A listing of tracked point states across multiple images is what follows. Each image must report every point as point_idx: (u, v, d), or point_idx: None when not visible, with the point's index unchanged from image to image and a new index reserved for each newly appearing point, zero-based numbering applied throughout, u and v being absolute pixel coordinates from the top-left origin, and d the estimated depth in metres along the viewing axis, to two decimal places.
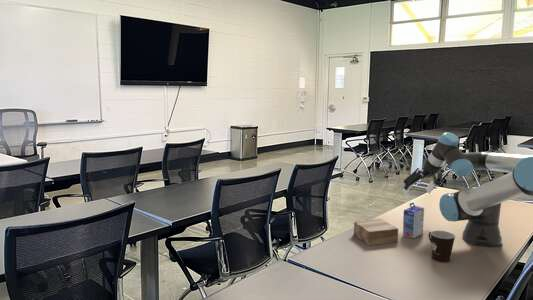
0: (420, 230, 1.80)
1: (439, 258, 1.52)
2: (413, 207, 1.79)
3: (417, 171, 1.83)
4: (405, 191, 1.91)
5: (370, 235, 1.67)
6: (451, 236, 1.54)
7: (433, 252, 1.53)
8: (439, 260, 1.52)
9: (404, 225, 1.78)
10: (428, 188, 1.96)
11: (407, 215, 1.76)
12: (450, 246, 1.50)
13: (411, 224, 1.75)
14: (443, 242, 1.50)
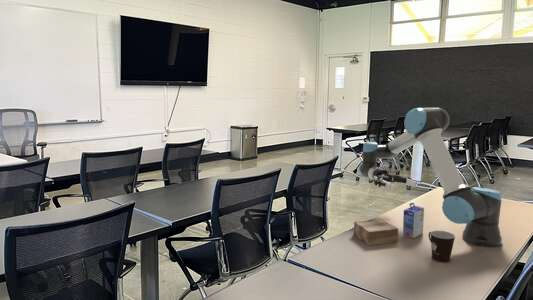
0: (420, 230, 1.80)
1: (439, 258, 1.52)
2: (413, 207, 1.79)
3: (372, 178, 1.99)
4: (387, 184, 1.86)
5: (370, 235, 1.67)
6: (451, 236, 1.54)
7: (433, 252, 1.53)
8: (439, 260, 1.52)
9: (404, 225, 1.78)
10: (412, 184, 1.90)
11: (407, 215, 1.76)
12: (450, 246, 1.50)
13: (411, 224, 1.75)
14: (443, 242, 1.50)
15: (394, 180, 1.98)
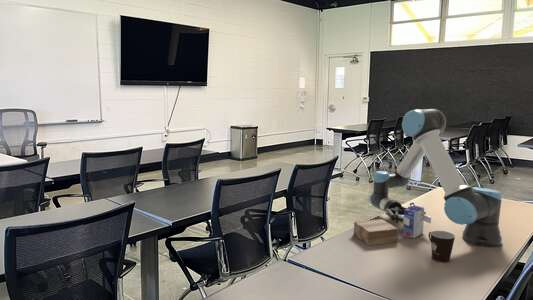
0: (420, 230, 1.80)
1: (439, 258, 1.52)
2: (413, 207, 1.79)
3: (386, 211, 1.88)
4: (405, 220, 1.75)
5: (370, 235, 1.67)
6: (451, 236, 1.54)
7: (433, 252, 1.53)
8: (439, 260, 1.52)
9: (404, 225, 1.78)
10: (426, 219, 1.78)
11: (407, 215, 1.76)
12: (450, 246, 1.50)
13: (411, 224, 1.75)
14: (443, 242, 1.50)
15: None
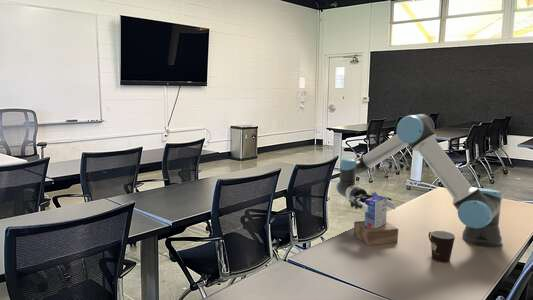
0: (383, 220, 1.74)
1: (439, 258, 1.52)
2: (375, 197, 1.73)
3: (349, 198, 1.83)
4: (363, 206, 1.70)
5: (370, 235, 1.67)
6: (451, 236, 1.54)
7: (433, 252, 1.53)
8: (439, 260, 1.52)
9: (366, 215, 1.72)
10: (391, 205, 1.74)
11: (368, 205, 1.70)
12: (450, 246, 1.50)
13: (372, 214, 1.69)
14: (443, 242, 1.50)
15: None
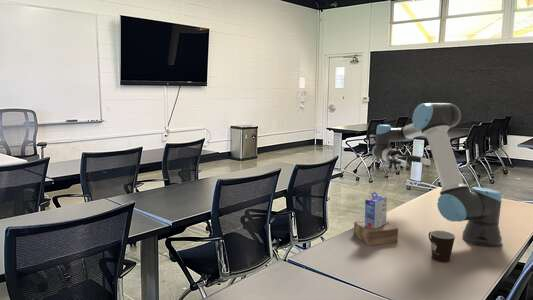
0: (383, 220, 1.74)
1: (439, 258, 1.52)
2: (375, 197, 1.73)
3: (387, 158, 2.03)
4: (402, 162, 1.90)
5: (370, 235, 1.67)
6: (451, 236, 1.54)
7: (433, 252, 1.53)
8: (439, 260, 1.52)
9: (366, 215, 1.72)
10: (426, 162, 1.94)
11: (368, 205, 1.70)
12: (450, 246, 1.50)
13: (372, 214, 1.69)
14: (443, 242, 1.50)
15: (408, 160, 2.02)
